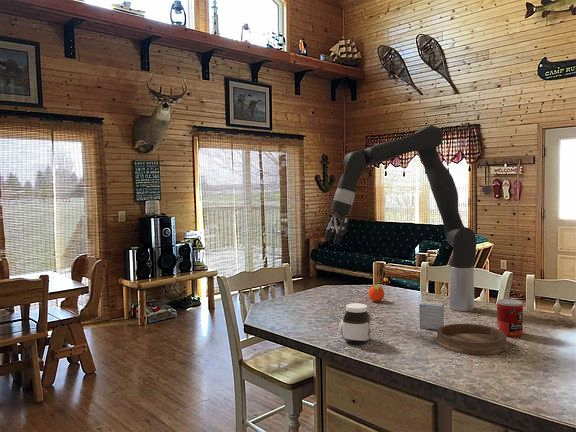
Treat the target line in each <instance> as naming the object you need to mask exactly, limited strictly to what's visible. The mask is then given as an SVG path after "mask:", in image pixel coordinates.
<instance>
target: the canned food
mask: <svg viewBox="0 0 576 432" xmlns="http://www.w3.org/2000/svg"><path fill="white" fill-rule="evenodd" d="M496 303H497V304H496V305H497V306H496V324H497V326H496V329H499V330H501V331H503V332H504V333H505V334H506V338H520V337H522V336H523V334H524V333H523V332H524V330H523V329H524V328H523V325H524V321H523V320H524V318H523V317H524V312H523V311H524V303H523V301H521V300H518V299H513V298H500V299H497V300H496Z"/></svg>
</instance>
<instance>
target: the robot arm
mask: <svg viewBox="0 0 576 432" xmlns="http://www.w3.org/2000/svg"><path fill="white" fill-rule="evenodd" d="M443 141H444V133H443V131H442V129H440V128H439V127H438V126H435V125H427V126H425V127H422V128H419V129H418V130H416V131H415V132H414V133H413V134H410V135H407V136H405V137H401V138H398V139H396V138H395V139H393V140H387V141H385V142H381V143H377V144H374V145H371V146H368V147H367V148H363V149H360V150H355V151H351V152H348V153H347V154H346V155H345V156H344V158H343V162H342V163H343V166H344V167H345V169H344V171H343V173H342V175H341V176H340V178H339V181H338V185H337V188H336V190H335V193H334V197H333V198H332V199H333V200H332V203H331V207H330V211H331V212H332V213H333V214H330V213H329V214H328V216H327V218H326V222H325V226H324V229H326V233H325V237H324V240H325V241H327V242H330V241H331V238H332V236H333V235H332V234H333V232H334V230H336V231H335V232H336V233H335V236H334V238H333V244H336V245H340V242H341V239H342V236H343V235H345V234H347V230H348V226H349V222H350V218H348V216H350V214H351V211H352V208H353V203H354V200H355V195H356V191H357V187H358V182H359V180H360V178H361V176H362V174H363V171H364V169H365V167H367V166H370V165H374V164H380V163H383V162H386V161H389V160H392V159H395V158H397V157H400V156H403V155H406V154H409V153H412V152H415V151H417V154H418V155H419V156H418V157H419V158H420V160H421V163H422V165H423V167H424V171H425V174H426V177H427V181H428V183H429V187H430V190H431V192H432V196H433V198H434V200H435V203H436V206H437V210H438V212H439V214H440V216H441V220H442V224H443V227H444V228H443V229H444V234H445V237H446V241H447V243H448V244H449V246H450V247H452V256H451V257H450V259H449V260H448V261H449V270H448V271H449V281H448V282H449V285H448V286H449V287H448V288H449V297H448V299H449V309H450V310H453V311H456V312H457V311H459V312H469V311H473V310H475V309H474V308H475V285H474V284H475V283H474V282H475V281H474V280H475V279H474V278H475V275H474V274H475V273H474V272H475V269H474V267H475V265H474V264H475V261H476V258H477V236H476V234H475V231H474V230H473V229H471V227H466V226H465V225H464V223H463V221H462V217H461V215H460V211H459V193H458V189H457V186H456V183H455V180H454V178H453V175H452V174H451V172H450V171H449V169H448V168H447V167H446V166H445V164H444V163H443V162H442V160H441V158H440V155H439V153H438V150H437V148H438V147H440V146H441V144H442V143H443Z"/></svg>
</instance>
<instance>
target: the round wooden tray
mask: <svg viewBox="0 0 576 432" xmlns="http://www.w3.org/2000/svg"><path fill="white" fill-rule="evenodd" d="M436 332H437V336H436V343H437V345H438V346H440V347H441V348H443V349H445V350H448V351H451V352H453V353H454V352H455V353H458V354H459V353H460V354H465V355H472V356H473V355H474V356H490V355H491V356H493V355H498V354H502V353H504V352H506V351H507V350H508V349H509V343H508V341H507V337H506V334H505V333H504V332H503V331H501V330H499V329H497V327H492V326H489V325H485V324H478V323H476V324H475V323H451V324H444V326H442V327H439V329H438V330H437V331H436Z"/></svg>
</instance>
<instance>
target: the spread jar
mask: <svg viewBox="0 0 576 432" xmlns="http://www.w3.org/2000/svg"><path fill="white" fill-rule="evenodd" d="M345 310H346V311H345V313H344V315H343V318H342V319H341V320H340V322H339V323H338V326H337V330H338V332H339V333H340V334H341V335H342V337H343V339H344V341H345V342H347V343H348V344H350V345H364V344H365V345H366V343H369V341H370V338H371V334H372V333H371V332H372V324H371V323H372V321H371V319H372V318H371V314H370V313H369V312H368V304H365V303H353V302H352V303H348V304H346V305H345Z"/></svg>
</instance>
